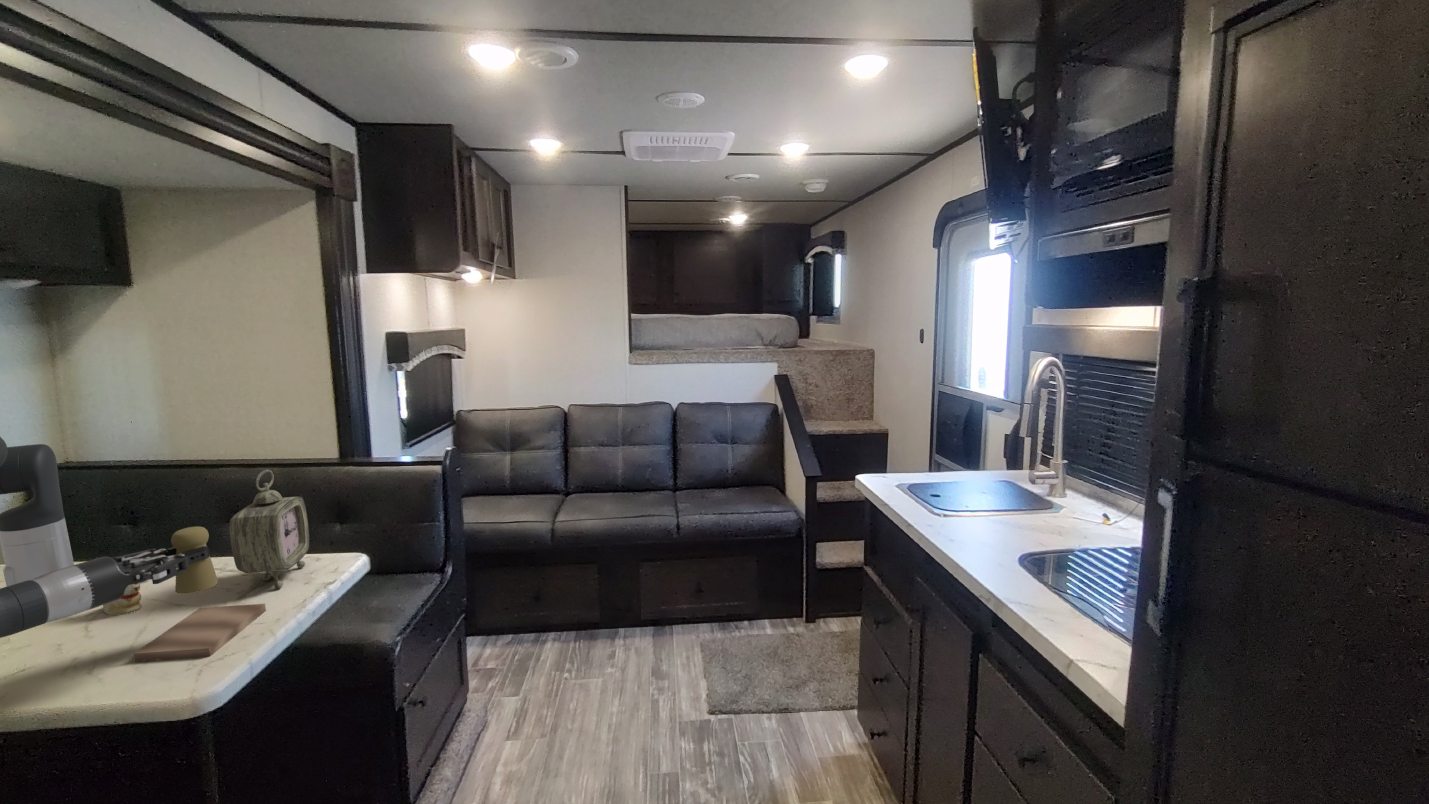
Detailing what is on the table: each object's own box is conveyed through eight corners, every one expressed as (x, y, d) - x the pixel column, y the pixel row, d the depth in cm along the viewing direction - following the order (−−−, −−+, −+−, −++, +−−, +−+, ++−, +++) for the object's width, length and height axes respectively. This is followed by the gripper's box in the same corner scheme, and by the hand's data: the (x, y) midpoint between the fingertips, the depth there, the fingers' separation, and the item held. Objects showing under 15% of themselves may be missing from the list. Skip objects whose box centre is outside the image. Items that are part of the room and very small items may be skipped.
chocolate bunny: (107, 621, 119) (98, 572, 118) (102, 608, 124) (93, 562, 123) (145, 610, 123) (137, 563, 122) (139, 598, 128) (131, 553, 127)
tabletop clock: (284, 591, 130) (268, 478, 126) (236, 596, 129) (218, 481, 124) (313, 563, 144) (300, 461, 140) (270, 567, 143) (255, 463, 138)
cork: (170, 596, 108) (161, 537, 106) (180, 583, 113) (172, 526, 112) (213, 589, 111) (205, 531, 109) (221, 576, 116) (214, 521, 115)
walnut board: (210, 656, 107) (208, 648, 106) (134, 661, 105) (133, 653, 105) (266, 610, 122) (265, 603, 122) (201, 614, 121) (199, 607, 121)
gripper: (96, 573, 93) (221, 534, 109) (48, 560, 99) (174, 525, 114) (104, 619, 95) (227, 574, 110) (56, 603, 100) (180, 563, 116)
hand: (199, 549), depth 112 cm, fingers closed on cork, 4 cm apart
